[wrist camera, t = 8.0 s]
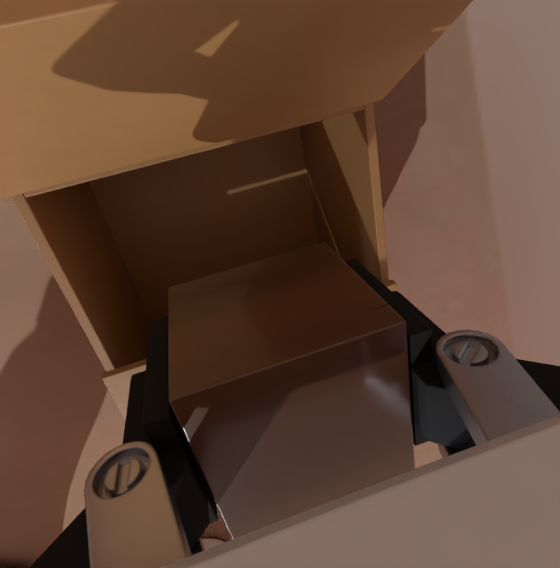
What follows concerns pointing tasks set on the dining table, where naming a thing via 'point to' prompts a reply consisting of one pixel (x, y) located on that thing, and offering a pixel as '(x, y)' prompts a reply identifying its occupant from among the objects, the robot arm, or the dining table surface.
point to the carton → (205, 224)
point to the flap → (187, 74)
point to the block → (288, 385)
